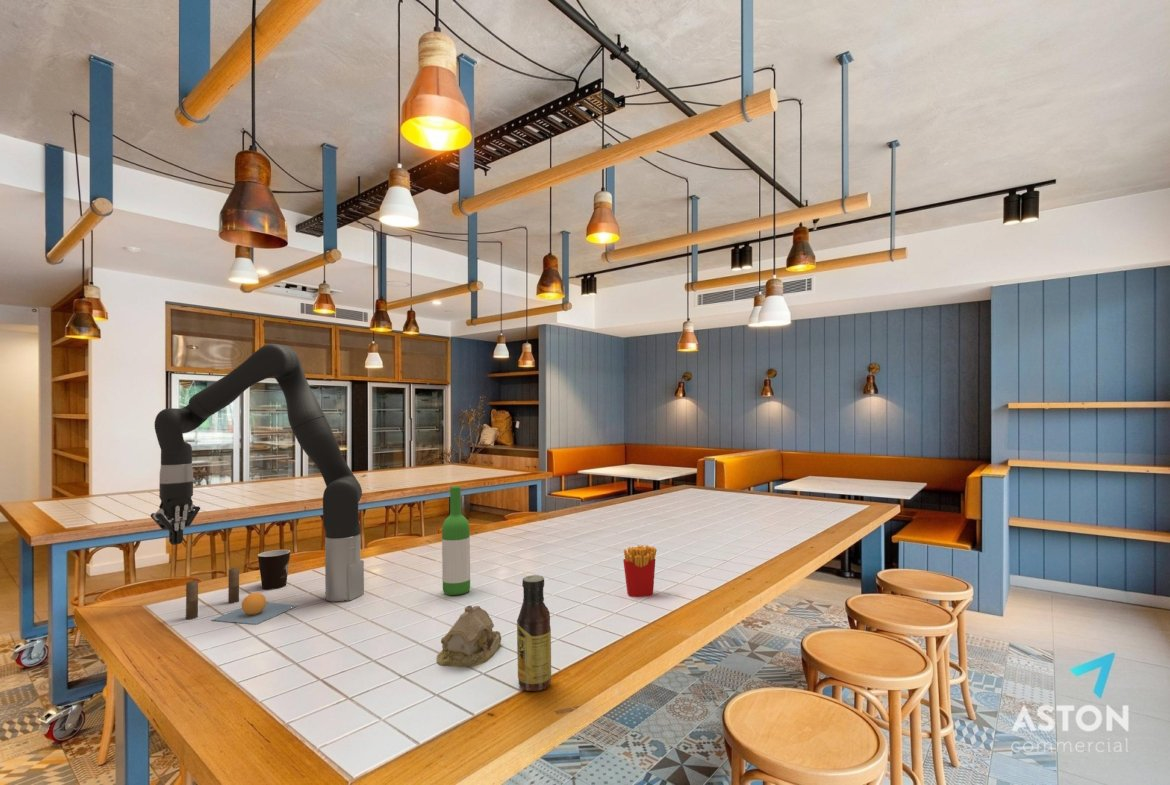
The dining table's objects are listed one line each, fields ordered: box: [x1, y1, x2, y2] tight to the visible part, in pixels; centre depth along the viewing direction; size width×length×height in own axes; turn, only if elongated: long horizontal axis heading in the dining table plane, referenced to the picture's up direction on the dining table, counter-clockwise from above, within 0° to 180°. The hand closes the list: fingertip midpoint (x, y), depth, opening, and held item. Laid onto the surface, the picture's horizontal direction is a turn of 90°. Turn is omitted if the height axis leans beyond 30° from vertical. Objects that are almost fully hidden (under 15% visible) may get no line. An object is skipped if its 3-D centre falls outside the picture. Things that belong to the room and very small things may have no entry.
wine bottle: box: [441, 485, 471, 596], centre depth 161 cm, size 8×8×30 cm
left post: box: [185, 580, 199, 620], centre depth 144 cm, size 2×2×9 cm
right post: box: [227, 567, 240, 604], centre depth 156 cm, size 2×2×9 cm
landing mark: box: [211, 601, 299, 625], centre depth 147 cm, size 14×14×1 cm
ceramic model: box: [436, 605, 502, 668], centre depth 119 cm, size 14×11×10 cm
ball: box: [241, 592, 267, 615], centre depth 146 cm, size 6×6×6 cm
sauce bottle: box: [516, 574, 552, 692], centre depth 104 cm, size 6×6×20 cm
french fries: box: [622, 544, 657, 598], centre depth 156 cm, size 9×4×13 cm, turn 100°
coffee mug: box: [257, 549, 291, 591], centre depth 172 cm, size 12×9×10 cm
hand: (176, 543), depth 154 cm, fingers closed
